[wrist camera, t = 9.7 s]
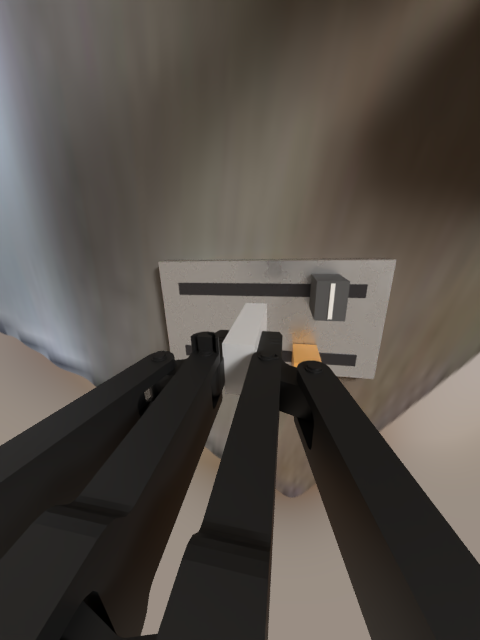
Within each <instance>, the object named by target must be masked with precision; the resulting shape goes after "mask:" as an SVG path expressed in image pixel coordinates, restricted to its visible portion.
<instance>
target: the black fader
mask: <svg viewBox="0 0 480 640" xmlns="http://www.w3.org/2000/svg"><path fill="white" fill-rule="evenodd" d="M349 287H350V281H349V280H347V279H346V278H344V277H343V276H341V275H340V274H312V275H311V289H310V302H309V308H310V311H311V314H312V317H313V319H314V320H316V321H345V318H346V310H347V303H348V295H349Z"/></svg>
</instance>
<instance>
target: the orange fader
mask: <svg viewBox="0 0 480 640" xmlns="http://www.w3.org/2000/svg"><path fill="white" fill-rule="evenodd" d="M308 360H311V361H312V360H315V361H319V362H321V358H320V355H319V351H318V348H317V345H310V344H293V345H292V363H291V366H294V367H297V366H298V364H299V363H301V362H303V361H308Z"/></svg>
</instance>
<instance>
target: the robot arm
mask: <svg viewBox="0 0 480 640" xmlns="http://www.w3.org/2000/svg"><path fill="white" fill-rule="evenodd" d="M282 339H283V335H282V334H281V333H280V332H273V331H267V304H264V303H246V304H245V305H244V307H243V309H242V310H241V312H240V314H239V316H238V317H237V319H236V321H235V322H234V324H233V326H232V327H231V329H230V330H219V331H217V332H215V333H214V332H209V331H204V332H198V333H195V334H193V335H192V336H191V345H192V353H191V354H190V356H189V357H188V358H187V359H180V360H175V357H174V354H173V353H171V352H168V351H158V352H156V353H153V354H150V355H148V356H147V357H145V358H143V359H142V360H140V361H138V362H137V363H135V364H134V365H132V366H130V367H129V368H127V369H125V370H124V371H122V372H120V373H119V374H117V375H116V376H114V377H112V378H111V379H109V380H107V381H106V382H104V383H102V384H101V385H99V386H98V387H96V388H95V389H93V390H91V391H89V392H88V393H86V394H84V395H83V396H81V397H80V398H78V399H76V400H75V401H73V402H71V403H70V404H68V405H66V406H65V407H63V408H62V409H60V410H58V411H57V412H55V413H53V414H52V415H50V416H49V417H47V418H45V419H44V420H42V421H40V422H39V423H37V424H35V425H34V426H32V427H30V428H29V429H27V430H26V431H24V432H22V433H21V434H19V435H17V436H16V437H14V438H13V439H11V440H9V441H8V442H6V443H5V444H3V445H1V446H0V640H268V623H269V622H268V621H269V603H270V602H269V601H270V583H271V582H270V581H271V564H272V544H273V524H274V505H275V486H276V466H277V447H278V427H279V411H282V412H284V413H287V414H290V415H293V416H294V422H295V425H296V428H297V430H298V433H299V436H300V439H301V442H302V444H303V447H304V450H305V453H306V456H307V459H308V461H309V464H310V467H311V470H312V473H313V476H314V478H315V481H316V484H317V487H318V489H319V492H320V495H321V498H322V501H323V504H324V507H325V509H326V512H327V515H328V518H329V521H330V523H331V526H332V529H333V532H334V535H335V538H336V540H337V543H338V546H339V549H340V552H341V555H342V557H343V560H344V563H345V566H346V569H347V571H348V574H349V577H350V580H351V583H352V586H353V589H354V591H355V594H356V597H357V599H358V603H359V605H360V608H361V611H362V614H363V617H364V620H365V623H366V625H367V628H368V631H369V634H370V637H371V639H372V640H480V564H479V563H478V562H477V561H476V559H475V558H474V557H473V555H472V554H471V553H470V551H469V550H468V549H467V547H466V546H465V545H464V543H463V542H462V541H461V540H460V538H459V537H458V535H457V534H456V533H455V532H454V530H453V529H452V528H451V526H450V525H449V524H448V522H447V521H446V520H445V518H444V517H443V516H442V515H441V513H440V512H439V511H438V509H437V508H436V507H435V505H434V504H433V503H432V501H431V500H430V499H429V497H428V496H427V495H426V493H425V492H424V491H423V490H422V488H421V487H420V486H419V484H418V483H417V482H416V480H415V479H414V478H413V476H412V475H411V474H410V472H409V471H408V470H407V468H406V467H405V466H404V464H403V463H402V462H401V461H400V459H399V458H398V457H397V455H396V454H395V453H394V452H393V450H392V449H391V447H390V446H389V445H388V444H387V442H386V441H385V439H384V438H383V437H382V436H381V434H380V433H379V432H378V430H377V429H376V428H375V426H374V425H373V424H372V422H371V421H370V420H369V418H368V417H367V416H366V415H365V413H364V412H363V411H362V409H361V408H360V407H359V405H358V404H357V403H356V401H355V400H354V399H353V397H352V396H351V395H350V393H349V392H348V391H347V390H346V388H345V387H344V386H343V384H342V383H341V382H340V380H339V379H338V378H337V376H336V375H335V374H334V372H333V371H332V370H331V369H330V367H328V366H327V365H326V364H324V363H322V362H319V361H315V360H312V361H311V360H308V361H303V362H301V363H299V364H298V366H297V367H294V366H291V365H289V364H287V363H285V362H284V361H283V360H282ZM224 385H225V394H234V395H240V398H239V401H238V404H237V408H236V411H235V414H234V418H233V421H232V425H231V428H230V431H229V435H228V438H227V442H226V445H225V448H224V452H223V455H222V458H221V462H220V465H219V469H218V472H217V475H216V479H215V482H214V486H213V490H212V492H211V496H210V499H209V503H208V506H207V509H206V513H205V516H204V519H203V522H202V525H201V528H200V530H199V532H198V533H196V534H194V535H192V537H191V539H190V541H189V542H188V544H187V547H186V550H185V552H184V555H183V558H182V561H181V564H180V567H179V570H178V573H177V576H176V579H175V582H174V585H173V588H172V591H171V595H170V597H169V601H168V604H167V607H166V610H165V613H164V616H163V619H162V622H161V625H160V628H159V632H158V634H152V635H145V636H140V635H141V632H142V629H143V625H144V621H145V617H146V613H147V606H148V599H149V592H150V588H151V585H152V582H153V579H154V576H155V573H156V571H157V568H158V566H159V563H160V560H161V558H162V555H163V553H164V550H165V547H166V545H167V542H168V540H169V537H170V534H171V532H172V529H173V527H174V524H175V521H176V519H177V516H178V514H179V511H180V508H181V506H182V503H183V500H184V498H185V495H186V493H187V490H188V488H189V485H190V483H191V480H192V477H193V475H194V472H195V470H196V467H197V464H198V462H199V459H200V456H201V454H202V451H203V449H204V446H205V444H206V441H207V438H208V436H209V433H210V431H211V428H212V425H213V423H214V420H215V418H216V415H217V412H218V410H219V407H220V405H221V402H222V389H223V387H224ZM147 389H150V394H151V397H150V398H149V399H148V400H146V399H145V395H144V392H145V391H146V390H147Z"/></svg>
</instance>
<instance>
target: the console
mask: <svg viewBox="0 0 480 640" xmlns="http://www.w3.org/2000/svg"><path fill="white" fill-rule="evenodd" d="M158 264H159V271H160V279H161V286H162V293H163V301H164V308H165V316H166V323H167V331H168V338H169V345H170V352H171V353H173V354H174V357H175V360H180V359H187V358H188V357H189V356H190V354H191V353H192V345H191V336H192V335H193V334H195V333H198V332H204V331H209V332H214V333H215V332H217V331H219V330H230V329H231V327H232V326H233V324H234V322H235V321H236V319H237V317H238V316H239V314H240V312H241V310H242V309H243V307H244V305H245V304H246V303H264V304H267V331H273V332H280V333H281V334H282V335H283V339H282V360H283V361H284V362H285V363H287V364H289V365H291V363H292V345H293V344H310V345H317V348H318V351H319V355H320V358H321V362H322V363H324V364H326V365H327V366H328V367H330V369H331V370H332V371H333V372H334V374H335V375H336V376H340V377H354V378H368V379H374V375H375V370H376V365H377V359H378V354H379V349H380V344H381V338H382V333H383V328H384V322H385V317H386V312H387V307H388V301H389V296H390V291H391V285H392V280H393V275H394V269H395V264H396V260H395V259H390V258H363V259H257V260H165V261H160V262H158ZM312 274H340V275H341V276H343V277H344V278H346V279H347V280H349V281H350V287H349V295H348V303H347V310H346V318H345V321H316V320H314V319H313V317H312V314H311V311H310V308H309V302H310V289H311V275H312Z"/></svg>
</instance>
